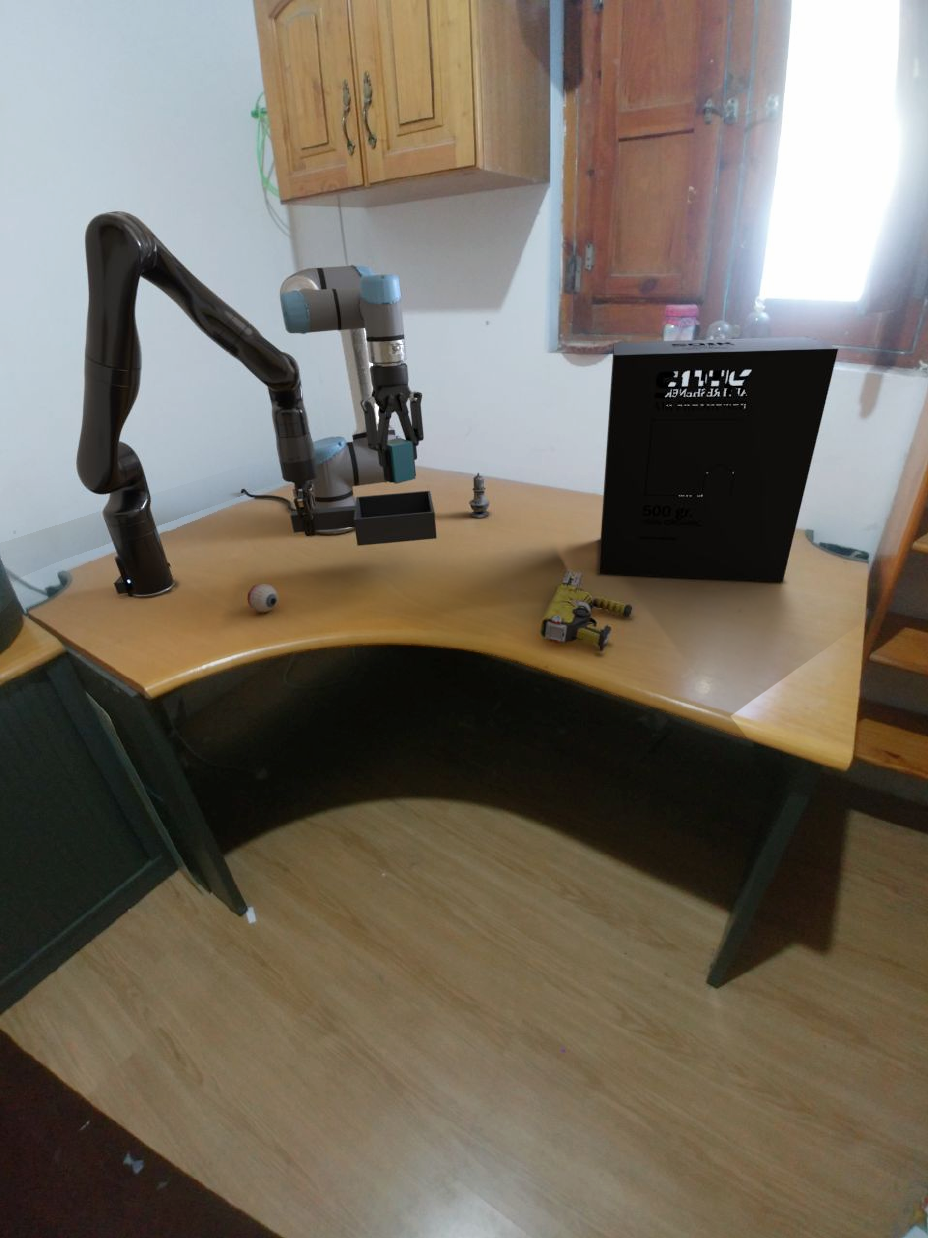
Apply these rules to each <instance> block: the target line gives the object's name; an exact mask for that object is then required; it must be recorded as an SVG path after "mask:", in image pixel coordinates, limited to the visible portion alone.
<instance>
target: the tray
mask: <svg viewBox="0 0 928 1238" xmlns="http://www.w3.org/2000/svg"><path fill="white" fill-rule="evenodd" d="M355 500H356V505H355V506H345V507H333V508H322V509H312V515H313V523H314V528H315V531H318V530H329V529H340V528H351V527H355V530H354V531H355V539H356V545H357V547H359V546H360V547H361V546H371V545H372V546H373V545H381V544H382V545H383V544H391V543H393V544H394V543H402V542H414V541H415V542H416V541H423V540H424V541H425V540H435V539H437V525H436V513H435V508H434V502H433V498H432V494H431V490H421V491H409V492H408V491H407V492H397V493H387V494H375V495H374V494H373V495H362V496H361V495H360V496H356V498H355ZM303 515H307V513H303ZM290 521H291V525H292V526H291V527H292V531H293V533H295V534H296V533H305V532H304V527H303V522H302V521H300V520H299V516H298V513H297V511H291V513H290Z"/></svg>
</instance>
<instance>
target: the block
mask: <svg viewBox="0 0 928 1238" xmlns="http://www.w3.org/2000/svg"><path fill="white" fill-rule="evenodd" d="M387 451H390V454H391V463H392V472H393V481H394V482H392V484H396V485H397V484H401V483H405V482H408V481H412V480H416V476H415V470H416V467H415V468H414V457H413V446H412V442H411V441H408V440H406V438H405V439H404V438H403V437H402V438H397V439H393V440H388V442H387Z"/></svg>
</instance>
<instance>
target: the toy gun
mask: <svg viewBox="0 0 928 1238" xmlns="http://www.w3.org/2000/svg"><path fill="white" fill-rule="evenodd" d="M573 573H574V572H573V570H568V571H566V573H565V576H564V578H563V580H562V581H561V583H560V584H559V585H558V588H557V590H556V591H555V592H554V593H555V594H554V595H553V597H552V599H551V602H550V603H549V605H548V608H547V610H546V611H545V614H544V616H543V618H542V620H541V626H540V635H541V637H542V638H544V639H547V640H548V642H549V643H552V642H553V643H554V644H558V643H559V642H561V643H570V642H574V641H575V640H577V639H579V640H581V641H584V642H588V643H591V644H593V645H595V646H598V651H600V652H603V651H604V649H605V648H606V646H607V645H608V644H609V641H610V636H611V631H612V627H611V626H609V625H608V624H606V625H605V626H604V627H603V629H602V628H600V627H597V625H598V623H597V620H596V619H595V618H593V617H592V614H591V611H592V610H593V609H594V608H596V609H601V610H602V611H607V612H608V613H613V614H614V615H620V616H621V617H624V618H630V616H631V614H632V612H633V606H632V605H631V604H627V603H621V602H620V601H617V602H616V601H615V600H613V599H612V600H610V599H609V598H604V597H602V596H599V595H598V596H596V598H594V600H593V598H592V596H591V594H590V593H589V592H586V591H582V590H580V588H581V583H582V578H583V576H582V573H581V572H578V571H577V572H576V573H575V574H573ZM572 576H573V578H572Z"/></svg>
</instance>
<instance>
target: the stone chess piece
mask: <svg viewBox="0 0 928 1238" xmlns="http://www.w3.org/2000/svg"><path fill="white" fill-rule="evenodd" d="M472 481H473V488H472V489H471V490H472V491H473V499H471V500H470V501H468V504H469V506H470V509H471V510H472V512H471V513H470V516H471V517H472V518H477V519H478V518H479V519H481V518H486V517H488V516H489V515H490V512H489V511H488V509H489V507H490V503H491V500H489V499H487V498H486V496H485V493H486V491H485V490H486V487H485V479H484V476H483V475H480V472H477V475H475V476H474V477H473V479H472Z"/></svg>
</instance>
